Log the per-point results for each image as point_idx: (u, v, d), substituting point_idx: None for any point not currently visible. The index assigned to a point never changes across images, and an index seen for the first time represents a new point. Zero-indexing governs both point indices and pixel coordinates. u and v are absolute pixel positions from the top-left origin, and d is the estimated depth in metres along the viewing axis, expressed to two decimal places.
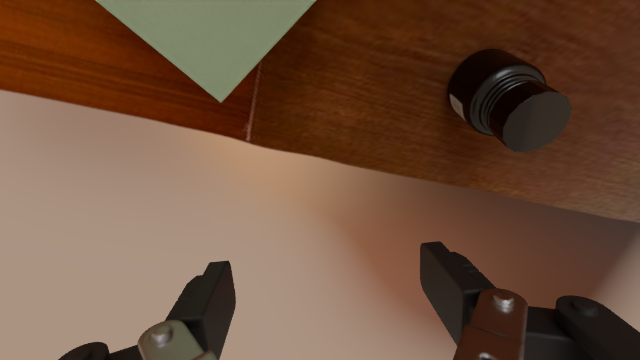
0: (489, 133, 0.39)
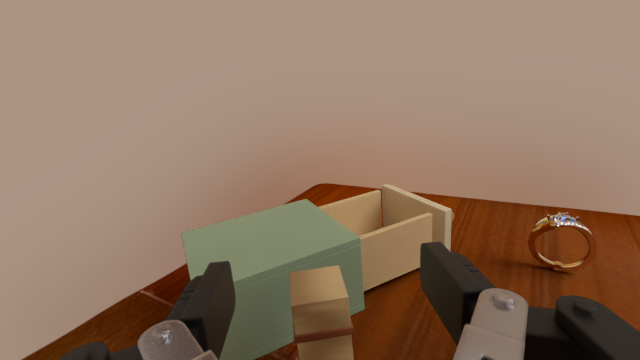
0: None
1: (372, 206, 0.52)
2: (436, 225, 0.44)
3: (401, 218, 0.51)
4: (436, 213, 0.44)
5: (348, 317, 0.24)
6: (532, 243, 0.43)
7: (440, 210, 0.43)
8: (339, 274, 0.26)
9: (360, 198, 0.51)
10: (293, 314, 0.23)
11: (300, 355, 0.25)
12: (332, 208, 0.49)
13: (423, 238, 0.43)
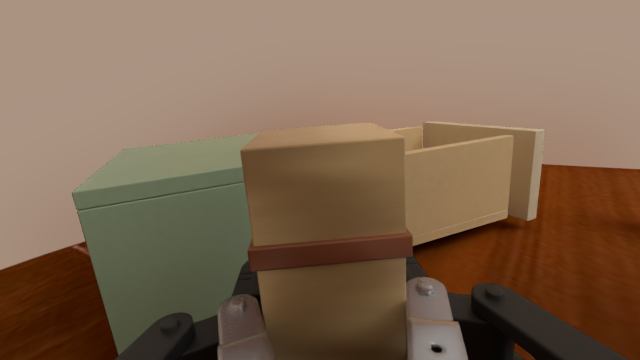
0: None
1: (410, 147, 0.37)
2: (516, 159, 0.28)
3: None
4: (517, 139, 0.28)
5: (401, 204, 0.09)
6: None
7: (526, 132, 0.27)
8: (375, 125, 0.11)
9: None
10: (247, 179, 0.08)
11: (266, 308, 0.09)
12: None
13: (498, 174, 0.27)
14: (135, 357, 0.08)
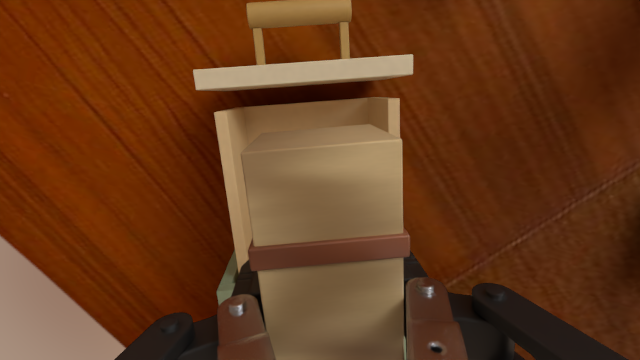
0: None
1: (236, 134, 0.23)
2: None
3: None
4: None
5: (398, 206, 0.09)
6: None
7: (399, 75, 0.21)
8: (373, 127, 0.11)
9: (235, 169, 0.22)
10: (247, 181, 0.08)
11: (267, 307, 0.09)
12: (246, 236, 0.24)
13: None
14: (135, 357, 0.08)
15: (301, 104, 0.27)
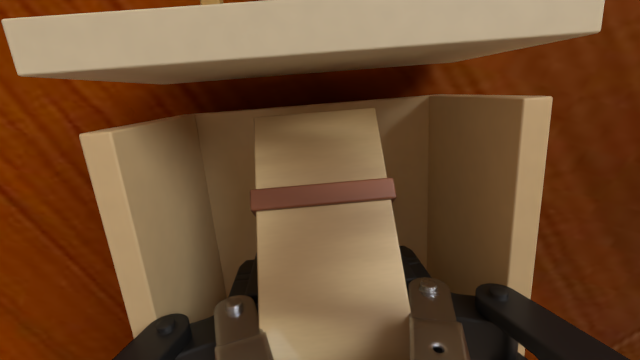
0: None
1: (162, 176, 0.11)
2: (483, 50, 0.10)
3: (256, 72, 0.12)
4: (518, 42, 0.08)
5: (379, 155, 0.11)
6: None
7: (563, 35, 0.08)
8: None
9: (148, 266, 0.09)
10: (256, 136, 0.11)
11: (261, 253, 0.09)
12: None
13: None
14: (131, 359, 0.08)
15: (304, 108, 0.14)
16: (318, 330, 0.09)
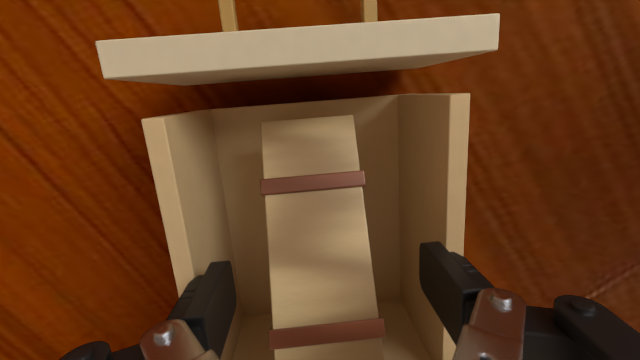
0: None
1: (191, 154, 0.14)
2: (429, 60, 0.14)
3: (261, 75, 0.15)
4: (447, 56, 0.12)
5: (355, 152, 0.14)
6: None
7: (474, 51, 0.12)
8: None
9: (185, 216, 0.13)
10: (263, 137, 0.14)
11: (269, 225, 0.13)
12: None
13: None
14: None
15: (298, 105, 0.18)
16: (310, 276, 0.13)
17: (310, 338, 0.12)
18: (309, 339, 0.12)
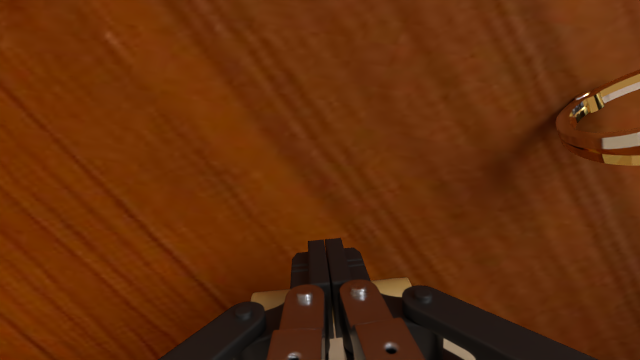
0: None
1: None
2: None
3: None
4: None
5: None
6: None
7: None
8: None
9: None
10: None
11: None
12: None
13: None
14: (208, 337, 0.09)
15: None
16: None
17: None
18: None
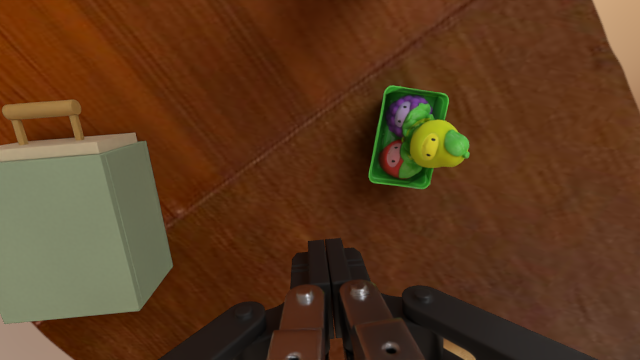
0: None
1: None
2: None
3: None
4: None
5: None
6: None
7: None
8: None
9: None
10: None
11: None
12: None
13: None
14: (208, 337, 0.09)
15: None
16: None
17: None
18: None
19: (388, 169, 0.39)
